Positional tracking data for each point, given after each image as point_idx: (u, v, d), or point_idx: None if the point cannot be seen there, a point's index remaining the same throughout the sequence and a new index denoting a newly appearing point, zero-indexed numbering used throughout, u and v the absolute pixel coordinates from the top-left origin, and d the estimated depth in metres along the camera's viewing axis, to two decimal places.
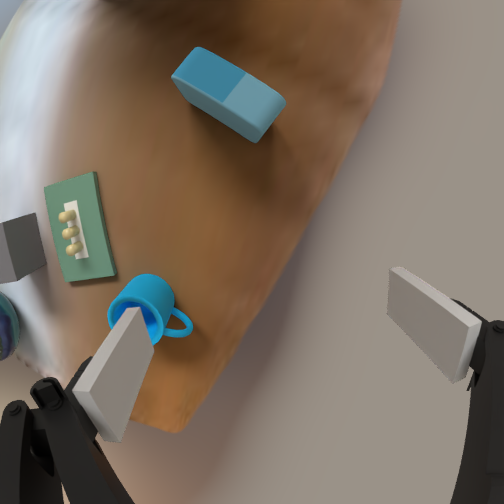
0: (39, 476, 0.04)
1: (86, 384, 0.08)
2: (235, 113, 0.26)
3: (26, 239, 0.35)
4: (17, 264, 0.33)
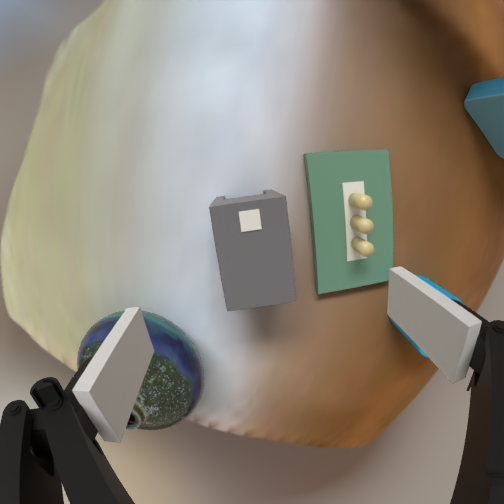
0: (39, 476, 0.04)
1: (86, 384, 0.08)
2: None
3: None
4: None
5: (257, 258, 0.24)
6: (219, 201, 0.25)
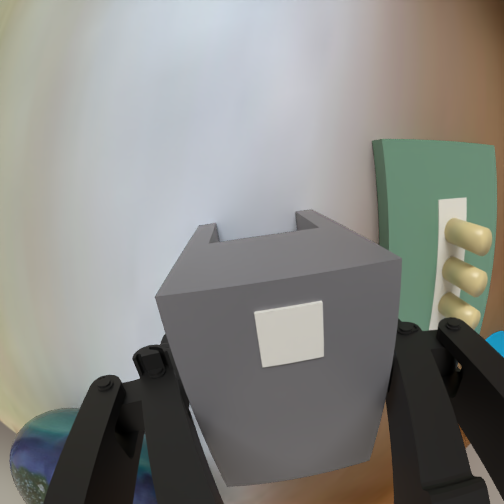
0: (117, 458, 0.06)
1: None
2: None
3: None
4: None
5: (302, 416, 0.08)
6: (197, 253, 0.10)
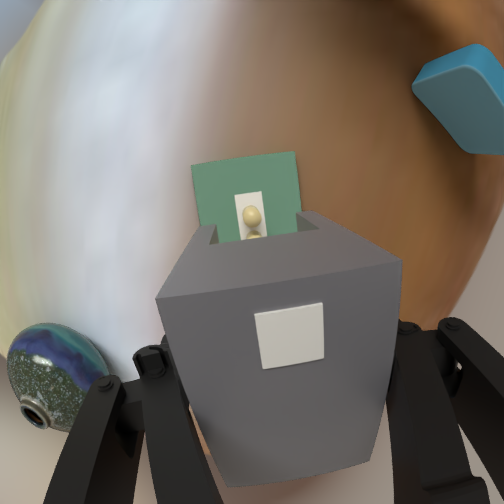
0: (117, 459, 0.06)
1: None
2: None
3: None
4: None
5: (303, 417, 0.08)
6: (198, 254, 0.10)
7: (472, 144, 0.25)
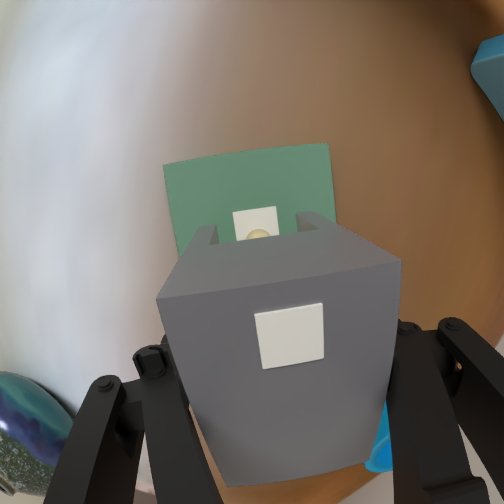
0: (117, 458, 0.06)
1: None
2: None
3: None
4: None
5: (303, 417, 0.08)
6: (198, 254, 0.10)
7: None
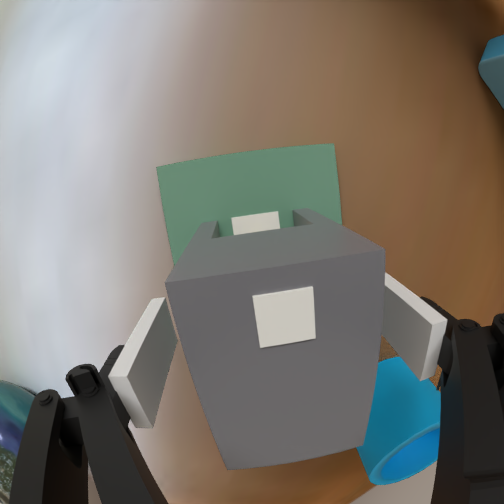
0: (65, 468, 0.05)
1: (122, 370, 0.09)
2: None
3: None
4: None
5: (297, 396, 0.09)
6: (201, 246, 0.10)
7: None
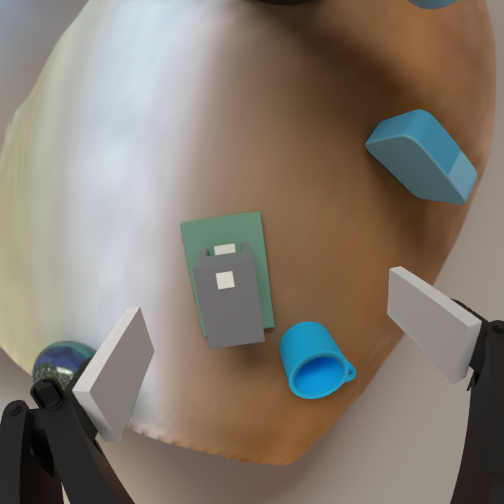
0: (39, 476, 0.04)
1: (86, 384, 0.08)
2: (454, 187, 0.26)
3: None
4: None
5: (232, 309, 0.29)
6: (201, 259, 0.31)
7: (420, 192, 0.35)
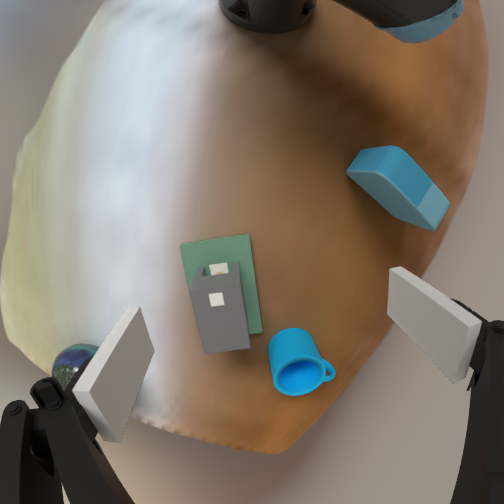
0: (39, 476, 0.04)
1: (86, 384, 0.08)
2: (423, 217, 0.31)
3: (243, 296, 0.39)
4: (247, 328, 0.36)
5: (222, 322, 0.35)
6: (197, 280, 0.36)
7: (397, 214, 0.40)
